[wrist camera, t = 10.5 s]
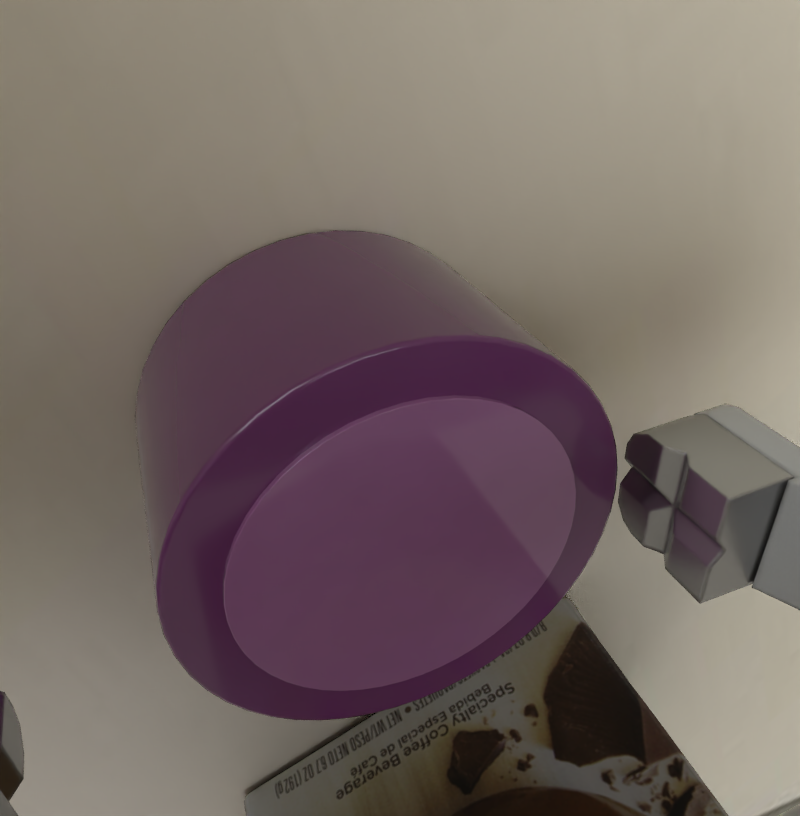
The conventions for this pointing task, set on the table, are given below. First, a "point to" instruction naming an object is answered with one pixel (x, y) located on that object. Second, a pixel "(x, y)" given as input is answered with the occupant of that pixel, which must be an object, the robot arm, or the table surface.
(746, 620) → the table surface
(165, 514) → the dish middle
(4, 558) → the table surface
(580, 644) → the coffee box
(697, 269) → the table surface
